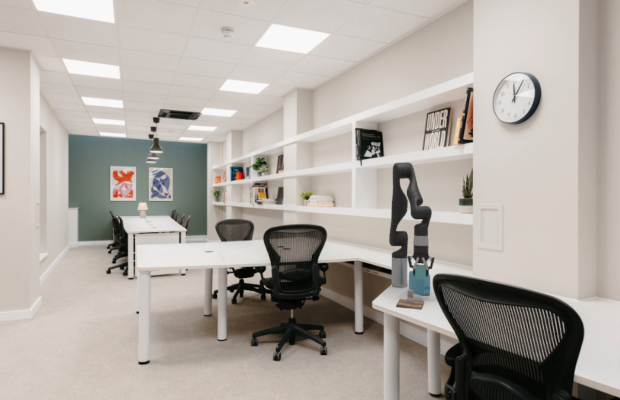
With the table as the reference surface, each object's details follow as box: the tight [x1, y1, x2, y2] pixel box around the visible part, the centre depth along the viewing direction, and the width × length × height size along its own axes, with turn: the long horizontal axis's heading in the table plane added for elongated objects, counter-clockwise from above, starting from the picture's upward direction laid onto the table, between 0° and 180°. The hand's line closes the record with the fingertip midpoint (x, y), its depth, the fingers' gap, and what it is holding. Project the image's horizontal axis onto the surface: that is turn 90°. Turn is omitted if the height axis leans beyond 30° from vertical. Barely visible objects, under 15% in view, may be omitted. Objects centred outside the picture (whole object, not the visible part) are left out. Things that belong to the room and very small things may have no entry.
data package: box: [408, 270, 431, 296], centre depth 212 cm, size 12×4×12 cm, turn 28°
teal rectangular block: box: [415, 264, 426, 280], centre depth 198 cm, size 5×5×7 cm
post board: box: [395, 288, 425, 310], centre depth 189 cm, size 12×12×7 cm
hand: (420, 276), depth 198 cm, fingers closed on teal rectangular block, 5 cm apart
